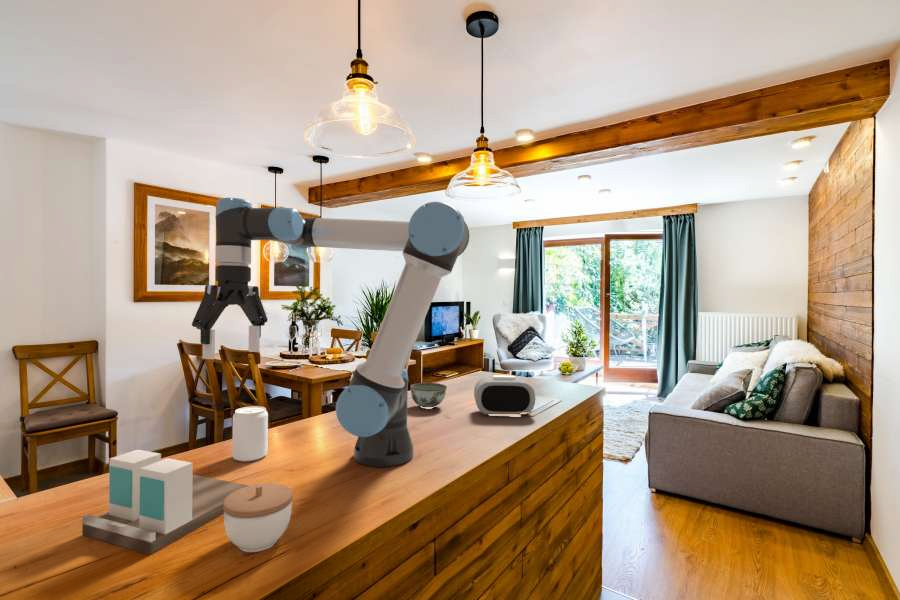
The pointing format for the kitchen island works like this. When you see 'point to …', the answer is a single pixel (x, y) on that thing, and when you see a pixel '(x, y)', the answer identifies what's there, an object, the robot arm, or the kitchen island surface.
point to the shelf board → (129, 535)
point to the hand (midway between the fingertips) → (232, 355)
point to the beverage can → (250, 433)
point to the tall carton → (127, 482)
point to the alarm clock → (504, 395)
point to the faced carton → (165, 495)
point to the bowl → (428, 394)
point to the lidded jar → (257, 515)
